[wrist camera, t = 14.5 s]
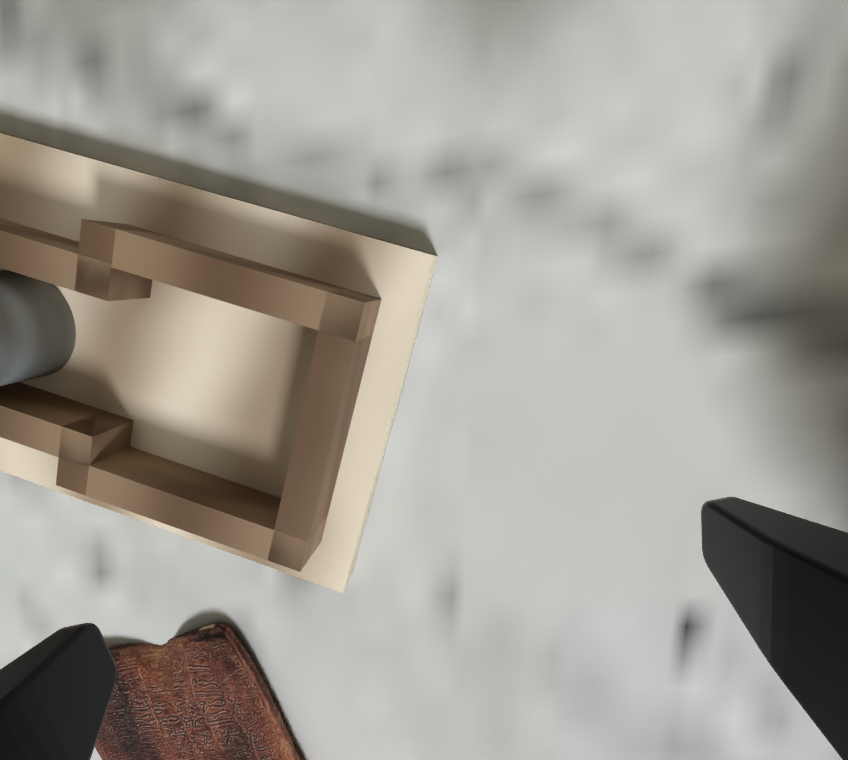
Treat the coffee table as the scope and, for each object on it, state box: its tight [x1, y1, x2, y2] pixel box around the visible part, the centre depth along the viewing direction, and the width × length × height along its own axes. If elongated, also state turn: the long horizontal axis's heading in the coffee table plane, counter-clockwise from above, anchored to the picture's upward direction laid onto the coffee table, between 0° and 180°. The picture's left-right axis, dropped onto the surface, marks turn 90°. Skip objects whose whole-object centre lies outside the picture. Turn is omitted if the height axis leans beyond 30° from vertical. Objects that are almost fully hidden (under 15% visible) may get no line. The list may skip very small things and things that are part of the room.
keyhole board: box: [0, 133, 438, 593], centre depth 19 cm, size 20×13×3 cm, turn 75°
